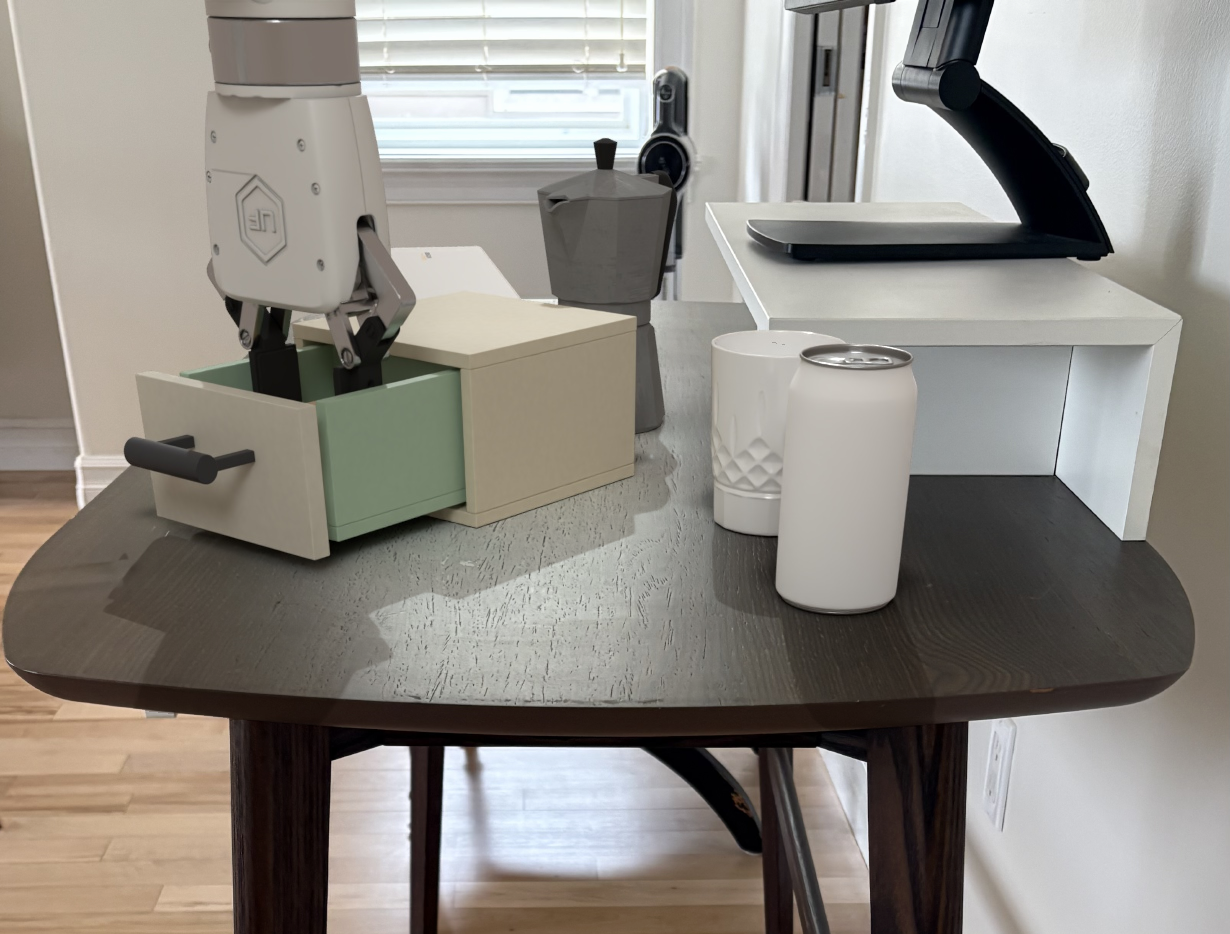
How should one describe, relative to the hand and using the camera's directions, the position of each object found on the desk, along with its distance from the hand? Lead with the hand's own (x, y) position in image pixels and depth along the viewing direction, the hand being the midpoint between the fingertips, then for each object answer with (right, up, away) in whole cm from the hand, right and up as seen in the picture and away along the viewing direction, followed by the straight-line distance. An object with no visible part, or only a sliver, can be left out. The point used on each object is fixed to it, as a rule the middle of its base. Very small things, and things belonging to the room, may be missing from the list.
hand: (320, 426), depth 92 cm
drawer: (-1, -5, +1) cm, 5 cm away
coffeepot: (+17, +11, +26) cm, 33 cm away
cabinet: (+8, +1, +12) cm, 14 cm away
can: (+29, -12, -7) cm, 32 cm away
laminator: (+3, +24, +44) cm, 50 cm away
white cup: (+26, -4, +5) cm, 27 cm away
